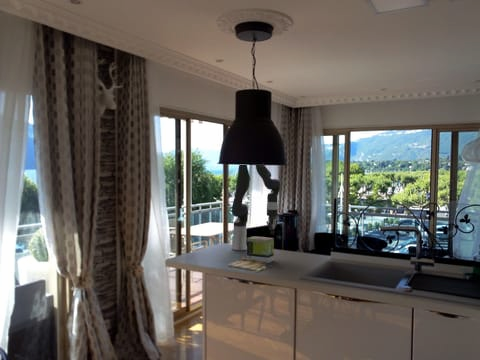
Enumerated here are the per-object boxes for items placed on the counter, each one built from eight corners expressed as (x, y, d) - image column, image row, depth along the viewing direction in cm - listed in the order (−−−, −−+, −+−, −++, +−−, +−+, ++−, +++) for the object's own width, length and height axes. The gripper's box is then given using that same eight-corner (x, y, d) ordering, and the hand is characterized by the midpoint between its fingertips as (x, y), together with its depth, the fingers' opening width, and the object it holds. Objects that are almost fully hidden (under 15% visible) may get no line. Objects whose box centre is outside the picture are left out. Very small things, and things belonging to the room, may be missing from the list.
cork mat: (227, 266, 241) (227, 263, 241) (241, 261, 255) (241, 258, 255) (253, 270, 232) (254, 267, 232) (266, 265, 245) (266, 262, 245)
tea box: (273, 260, 258) (274, 237, 257) (267, 263, 249) (268, 240, 248) (252, 257, 265) (253, 235, 264) (246, 260, 256) (246, 237, 255)
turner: (259, 272, 228) (259, 270, 228) (253, 271, 230) (253, 269, 230) (272, 266, 242) (272, 264, 242) (267, 265, 244) (267, 263, 244)
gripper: (271, 207, 277) (271, 232, 278) (262, 209, 266) (262, 235, 266) (281, 208, 273) (281, 233, 274) (273, 209, 262) (272, 236, 262)
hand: (272, 234), depth 270 cm, fingers closed
